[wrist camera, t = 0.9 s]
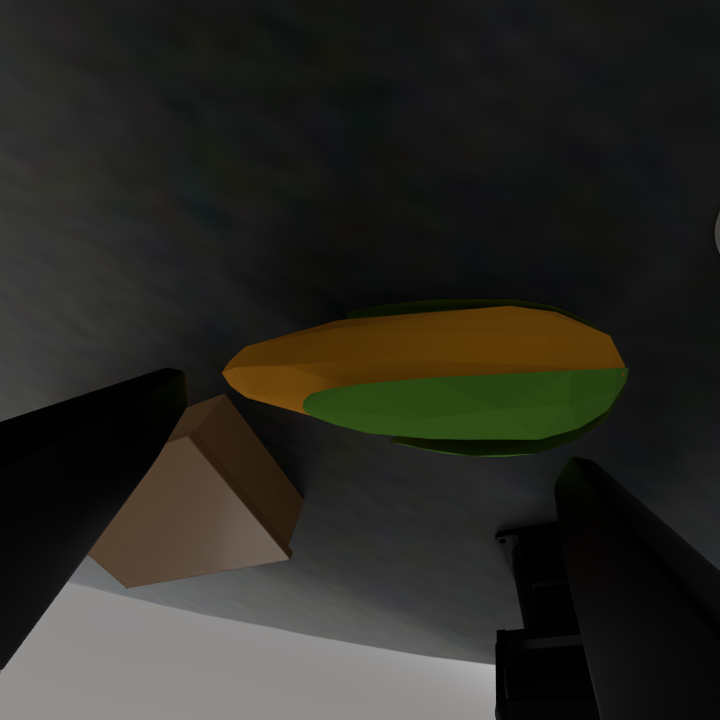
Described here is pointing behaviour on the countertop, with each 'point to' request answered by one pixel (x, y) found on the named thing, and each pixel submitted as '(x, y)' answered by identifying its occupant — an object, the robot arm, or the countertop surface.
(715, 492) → the countertop surface
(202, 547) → the takeaway box
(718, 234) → the dixie cup
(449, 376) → the corn
